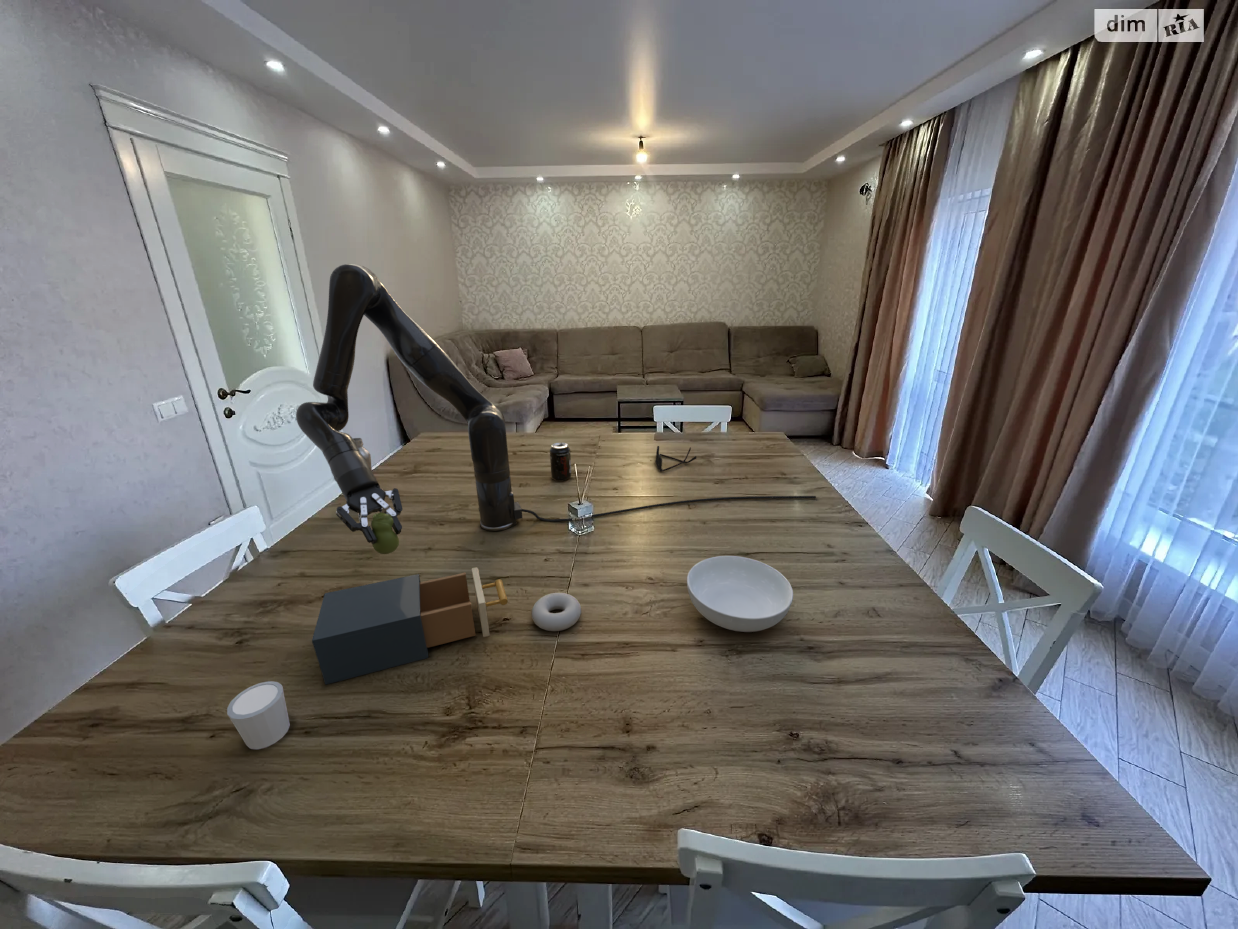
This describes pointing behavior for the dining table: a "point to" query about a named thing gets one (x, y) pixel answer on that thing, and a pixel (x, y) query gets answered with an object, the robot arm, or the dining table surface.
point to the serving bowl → (739, 593)
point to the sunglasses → (659, 459)
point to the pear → (384, 533)
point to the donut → (558, 619)
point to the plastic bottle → (363, 450)
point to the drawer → (454, 607)
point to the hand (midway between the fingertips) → (387, 537)
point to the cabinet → (369, 629)
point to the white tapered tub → (260, 714)
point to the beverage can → (560, 461)
